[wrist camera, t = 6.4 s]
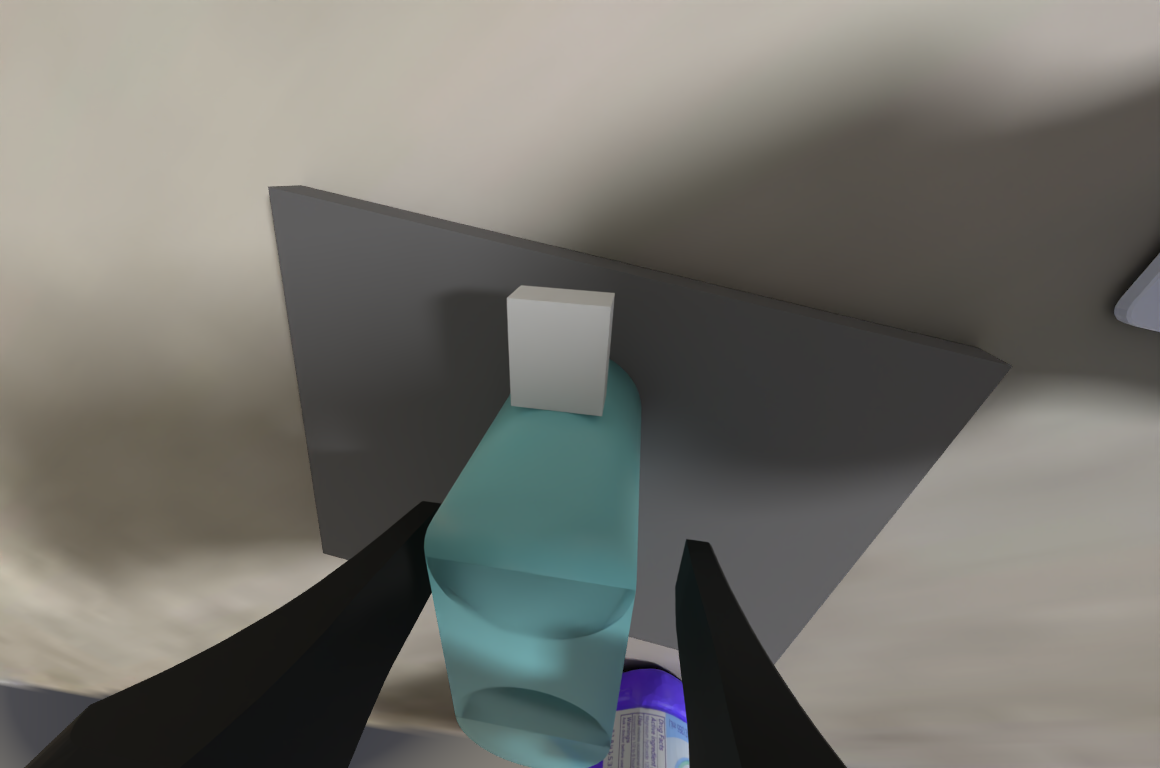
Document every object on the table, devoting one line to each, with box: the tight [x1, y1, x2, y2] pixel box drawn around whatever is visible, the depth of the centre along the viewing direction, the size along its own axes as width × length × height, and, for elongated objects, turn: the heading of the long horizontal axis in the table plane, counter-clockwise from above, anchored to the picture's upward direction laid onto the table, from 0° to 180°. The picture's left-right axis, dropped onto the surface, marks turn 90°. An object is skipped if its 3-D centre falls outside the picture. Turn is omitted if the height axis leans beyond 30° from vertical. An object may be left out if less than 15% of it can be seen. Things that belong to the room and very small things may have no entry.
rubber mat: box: [268, 185, 1012, 664], centre depth 15 cm, size 20×15×1 cm
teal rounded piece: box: [424, 285, 641, 768], centre depth 11 cm, size 4×12×6 cm, turn 177°
